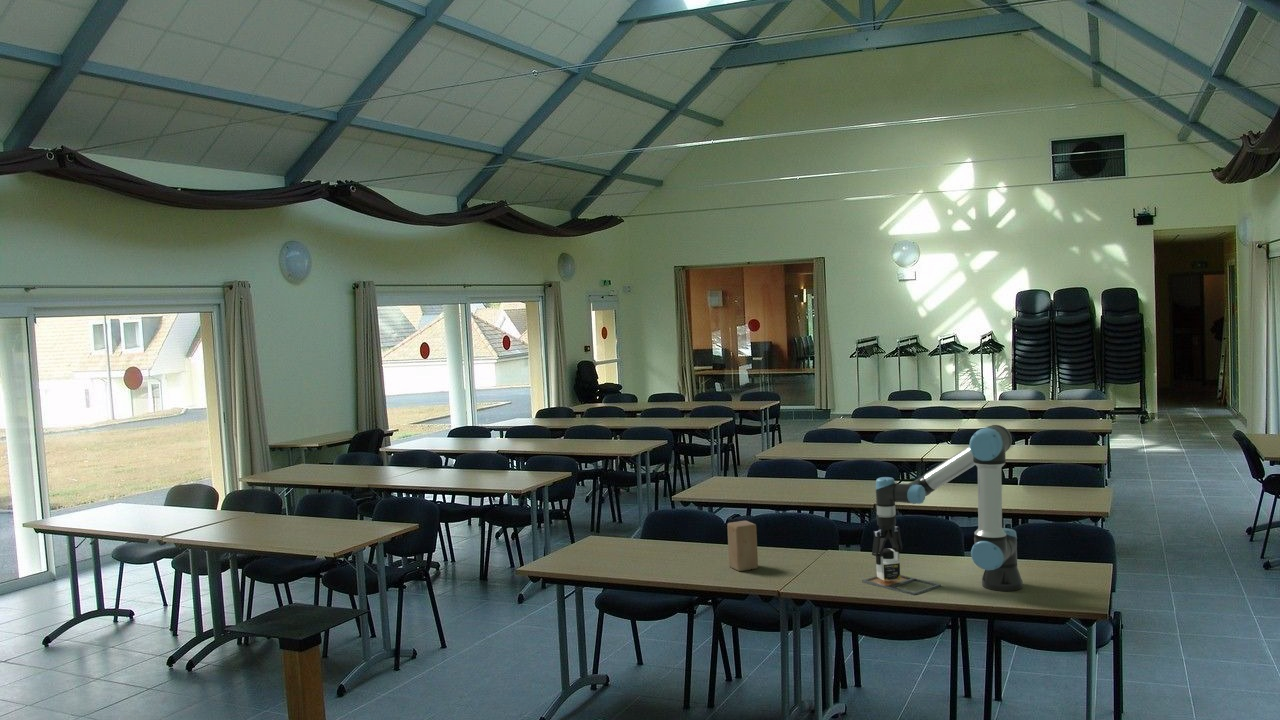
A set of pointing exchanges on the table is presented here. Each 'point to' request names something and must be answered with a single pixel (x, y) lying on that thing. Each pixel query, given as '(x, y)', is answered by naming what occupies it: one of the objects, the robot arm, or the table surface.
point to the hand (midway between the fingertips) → (888, 569)
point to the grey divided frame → (900, 583)
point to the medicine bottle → (889, 566)
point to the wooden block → (742, 545)
